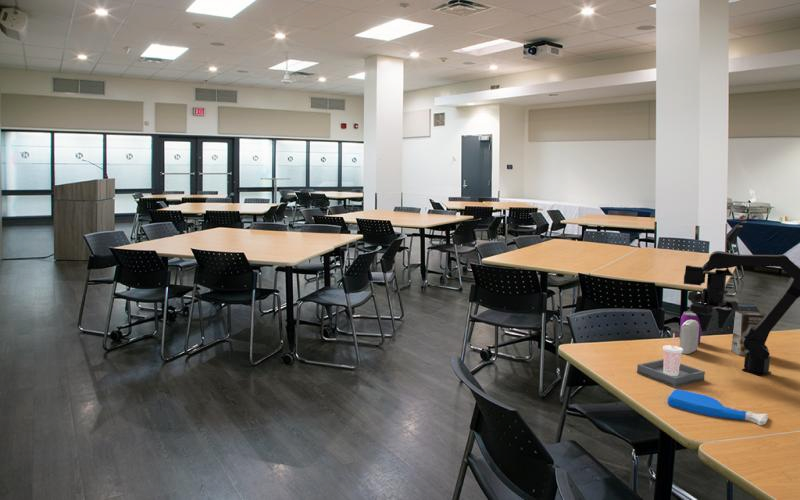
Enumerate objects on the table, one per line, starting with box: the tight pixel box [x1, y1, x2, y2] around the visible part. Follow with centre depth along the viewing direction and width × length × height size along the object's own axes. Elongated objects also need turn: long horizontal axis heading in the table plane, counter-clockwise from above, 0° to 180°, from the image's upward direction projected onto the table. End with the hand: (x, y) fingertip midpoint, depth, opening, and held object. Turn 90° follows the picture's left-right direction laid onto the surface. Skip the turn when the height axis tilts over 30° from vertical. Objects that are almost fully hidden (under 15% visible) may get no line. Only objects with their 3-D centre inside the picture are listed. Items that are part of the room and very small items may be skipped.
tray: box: [636, 358, 706, 388], centre depth 187 cm, size 15×15×3 cm
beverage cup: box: [662, 332, 683, 376], centre depth 186 cm, size 6×6×14 cm
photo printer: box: [678, 320, 699, 355], centre depth 215 cm, size 10×4×12 cm, turn 134°
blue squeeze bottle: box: [667, 388, 769, 426], centre depth 160 cm, size 3×11×24 cm
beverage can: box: [679, 311, 702, 344], centre depth 227 cm, size 8×8×12 cm
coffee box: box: [730, 310, 767, 357], centre depth 212 cm, size 9×6×16 cm
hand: (712, 329), depth 198 cm, fingers open, 9 cm apart
